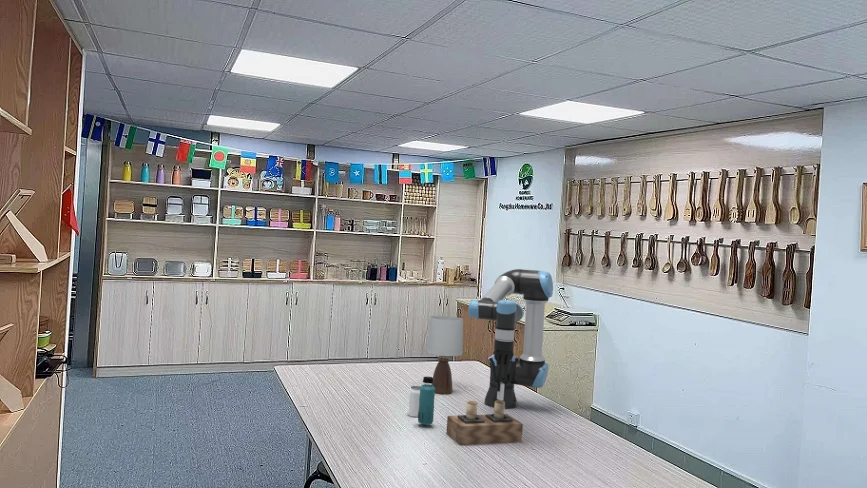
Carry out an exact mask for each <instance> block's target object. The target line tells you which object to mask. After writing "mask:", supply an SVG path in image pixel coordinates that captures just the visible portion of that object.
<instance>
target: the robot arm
mask: <svg viewBox="0 0 867 488" xmlns="http://www.w3.org/2000/svg"><path fill="white" fill-rule="evenodd" d="M553 284H554V282H553V278H552V274H551V273H550V272H548V271H544V270H535V269H534V270H533V269H522V268H517V269H516V268H515V269H511V270H508V271H506V272H504V273H502V274H501V275H499V276H498V277H496V279H495V281H494V284H493V285H492V287H491V288H490V289H489V290H488V291H486V293H485V294H484V295H483V296H482V298H480V300H478V299H472V300H470V302H469V305H468V308H467V309H468V316H469V317H470V318H473V319H477V320H488V321H495V333H494V338H495V340H494V343H493V345H494V346H493V350H494V351H493V353H492V355H491V356H487V358H486V359H487V361H488V364H489V370H490V373H489V385H488V386H489V387H488V389H487V391H486V395H485V397H484V404H485V405H486V406H488V407H492V408H494V407H495V401H496V400H500V401H504V402H505V409H513V408H516V407H517V405H518V403H517V401H518V400H517V397H516V393H515V385H518V386H522V387H524V386H525V387H530V388H538V389H539V388H541V389H542V388H543V387H544V385H545V383H546V380H547V377H548V374H549V373H548V372H549V364H548V363H547V362H546V357H544V356H543V342H544V329H545V328H544V327H545V326H544V325H545V310H546V308H545V307H546V304H547V303H548V302H549V299H550V298H552V297H553V294H554V293H553V292H554V285H553ZM513 294H514V295H515V294H516V295H522V298H523V299H522V300H523V301H524V302H525V311H524V308H523V307H522V306H521V304H519V303H517V302H516V301H513V300H508V299H507V300H505V299H506V298H507V297H508V296H511V295H513ZM524 314H525V318H524V320H525V321H524V334H523V335H524V336H523V353H522V354H521V355H520V356H519V357H517V355H515V354H514V343H515V342H514V340H515V332H516V331H515V330H516V328H515V327H516V323H518V322H520V321H521V320H522V319H523V317H524Z"/></svg>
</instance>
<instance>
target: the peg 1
mask: <svg viewBox="0 0 867 488" xmlns="http://www.w3.org/2000/svg"><path fill="white" fill-rule="evenodd" d="M465 411H466V412H465V413H466V414H465V415H466V419H467V420H476V415H478V413H477V411H478V402H477V401H473V400H468V401H467V402H466V410H465Z"/></svg>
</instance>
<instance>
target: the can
mask: <svg viewBox="0 0 867 488" xmlns="http://www.w3.org/2000/svg"><path fill="white" fill-rule="evenodd" d="M420 387H421V386H418V385H412V386H410V389H409V393H408V394H409V395H408V397H409V398H408V409H407V410H408V411H407V414H408V416H409V417H412V418H418V411H419V398H420Z"/></svg>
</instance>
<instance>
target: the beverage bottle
mask: <svg viewBox="0 0 867 488" xmlns="http://www.w3.org/2000/svg"><path fill="white" fill-rule="evenodd" d="M422 378H423V379H422V382H423V383H425V384H422V385H421V386H420V398H419V411H418V417H417V423H419V424H420V425H421V424H422V425H432V424H433V423H434V415H435V414H434V413H435V412H434V411H435V396H436V395H435V394H436V393H435V388H434V386H433V385H431V383H433V376H423V377H422Z"/></svg>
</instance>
